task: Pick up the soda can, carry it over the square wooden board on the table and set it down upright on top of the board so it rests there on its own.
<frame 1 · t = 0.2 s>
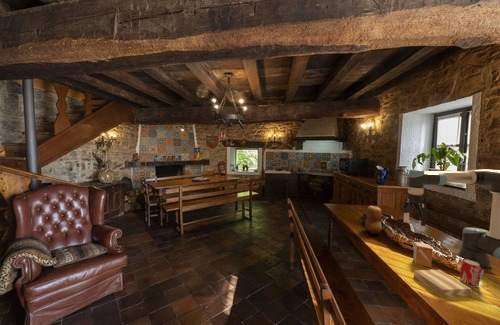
hand: (413, 226, 122), 28 cm above the table, fingers open, 13 cm apart
soda can: (469, 284, 109), on the table
square wooden board: (440, 285, 107), on the table
butternut squash: (372, 233, 177), on the table
small box: (421, 264, 128), on the table
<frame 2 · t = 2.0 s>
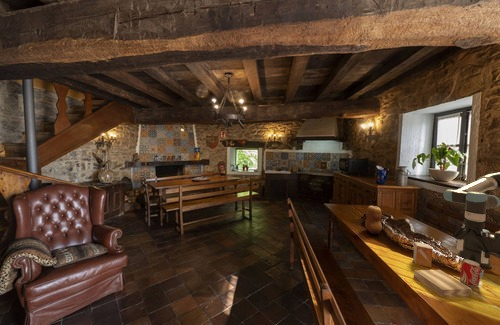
hand: (471, 256, 108), 16 cm above the table, fingers open, 13 cm apart
nothing on the table moved.
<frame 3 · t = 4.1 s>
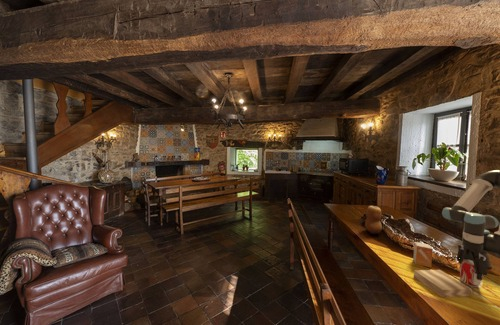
hand: (469, 279, 108), 3 cm above the table, fingers closed on soda can, 7 cm apart
soda can: (469, 284, 109), on the table, touching gripper
everything else where it was.
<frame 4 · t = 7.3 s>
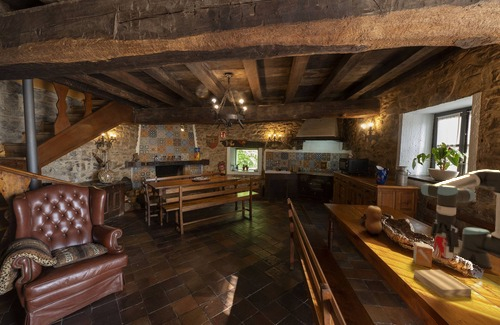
hand: (442, 253, 106), 19 cm above the table, fingers closed on soda can, 7 cm apart
soda can: (442, 258, 106), point 16 cm above the table, touching gripper
everything else where it was.
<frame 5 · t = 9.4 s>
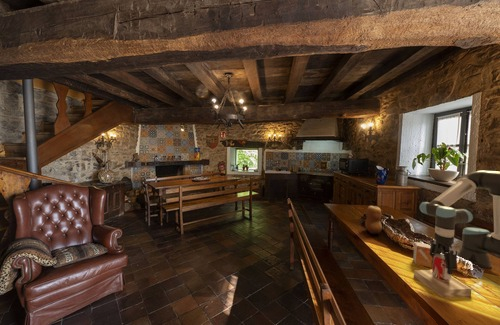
hand: (441, 274, 107), 7 cm above the table, fingers closed on soda can, 7 cm apart
soda can: (440, 279, 107), point 4 cm above the table, touching gripper
everything else where it was.
when the fingers open (7 cm above the table, at t = 10.6 s): soda can stays where it is, resting on square wooden board.
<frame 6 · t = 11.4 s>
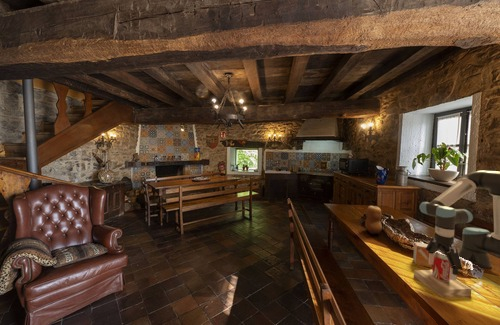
hand: (441, 271, 106), 8 cm above the table, fingers open, 13 cm apart
soda can: (440, 279, 107), point 4 cm above the table, touching square wooden board
everything else where it was.
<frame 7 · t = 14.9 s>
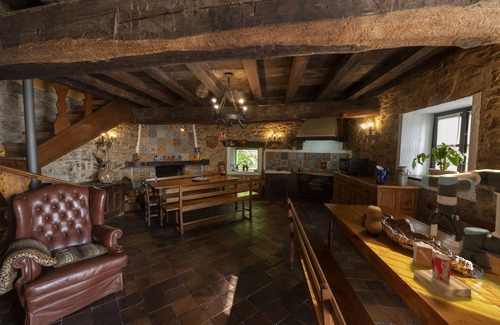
hand: (443, 240, 105), 26 cm above the table, fingers open, 13 cm apart
nothing on the table moved.
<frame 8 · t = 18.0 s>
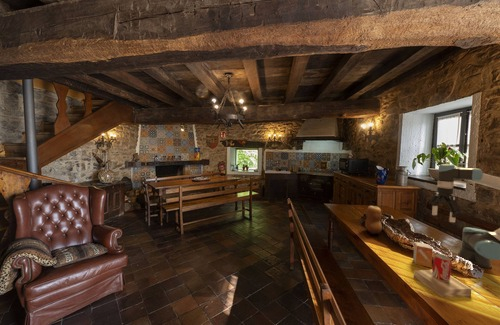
hand: (442, 218, 128), 31 cm above the table, fingers open, 13 cm apart
nothing on the table moved.
at the end: soda can inside the target area on the square wooden board (0.1 cm from its centre), point 3.8 cm above the square wooden board's base; soda can tilted 0°; the gripper is holding nothing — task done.
